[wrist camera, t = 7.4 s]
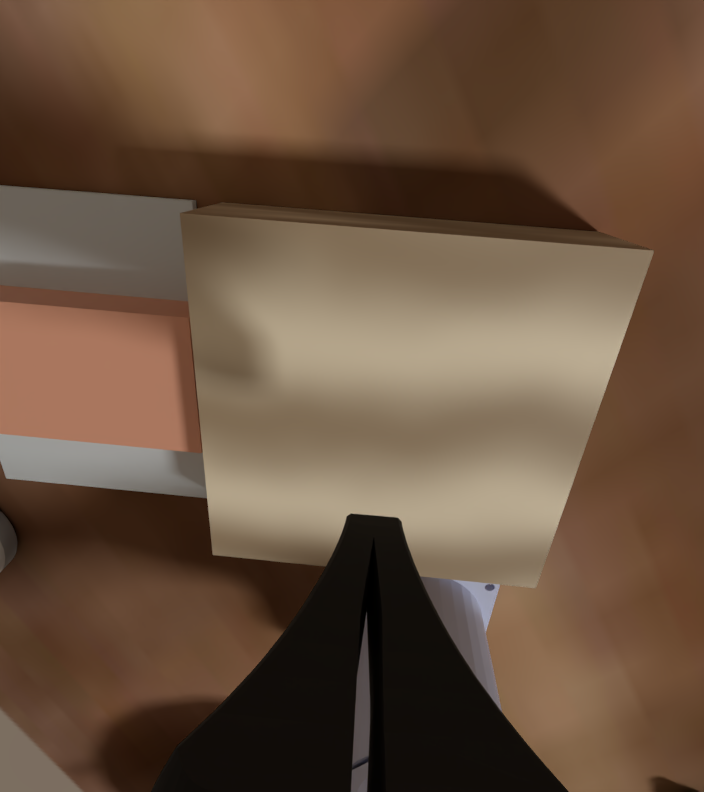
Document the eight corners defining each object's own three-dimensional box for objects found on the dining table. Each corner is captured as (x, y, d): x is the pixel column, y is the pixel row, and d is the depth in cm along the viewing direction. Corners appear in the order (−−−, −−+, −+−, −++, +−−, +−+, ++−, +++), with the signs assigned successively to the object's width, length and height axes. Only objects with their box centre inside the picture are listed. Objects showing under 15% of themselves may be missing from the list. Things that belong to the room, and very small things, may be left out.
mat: (219, 494, 24) (217, 499, 24) (11, 473, 24) (6, 478, 24) (195, 200, 18) (192, 201, 17) (-86, 178, 18) (-95, 178, 18)
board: (513, 523, 23) (535, 588, 20) (239, 496, 24) (212, 555, 20) (598, 231, 17) (654, 250, 14) (222, 202, 18) (179, 212, 14)
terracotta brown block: (217, 429, 22) (201, 453, 20) (28, 411, 22) (-3, 433, 20) (207, 303, 19) (188, 317, 17) (-8, 284, 19) (-48, 297, 17)
